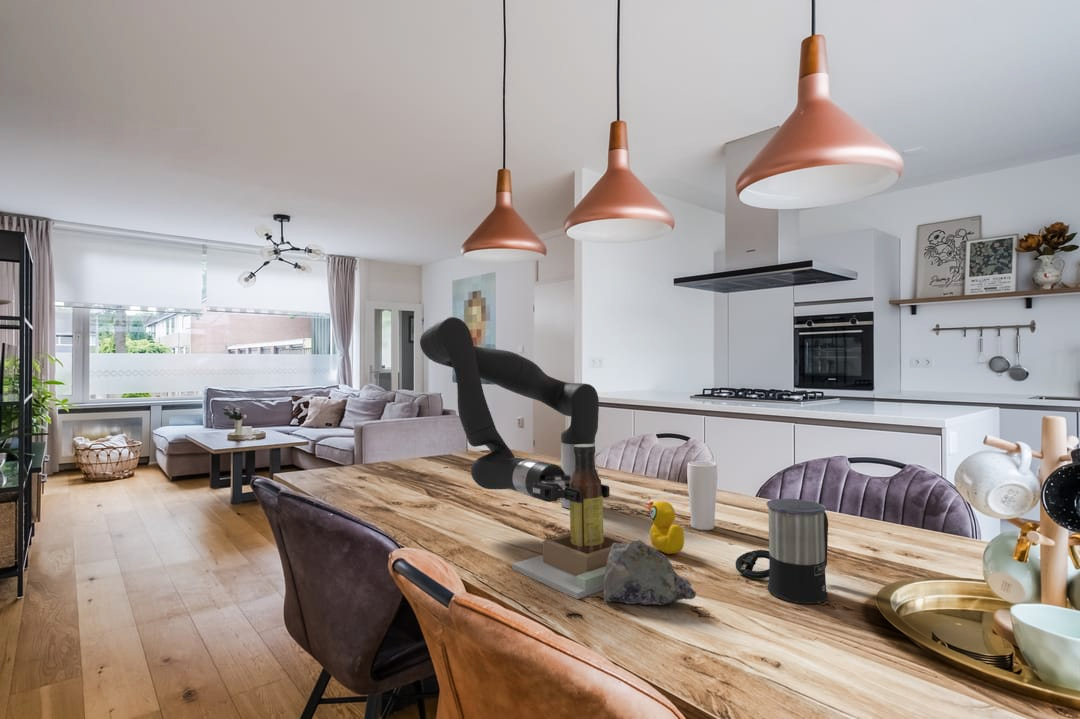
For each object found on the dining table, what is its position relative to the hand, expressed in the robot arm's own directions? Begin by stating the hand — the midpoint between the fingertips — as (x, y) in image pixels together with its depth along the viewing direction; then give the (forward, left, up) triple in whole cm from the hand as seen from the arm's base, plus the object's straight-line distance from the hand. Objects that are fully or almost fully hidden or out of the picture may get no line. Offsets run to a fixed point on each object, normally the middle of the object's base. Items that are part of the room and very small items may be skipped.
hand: (595, 494), depth 105 cm
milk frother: (-20, +25, -15) cm, 35 cm away
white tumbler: (-39, -4, -15) cm, 42 cm away
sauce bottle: (0, -2, -11) cm, 11 cm away
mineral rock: (+3, +15, -15) cm, 21 cm away
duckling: (-19, +1, -15) cm, 24 cm away
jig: (0, -2, -14) cm, 14 cm away
